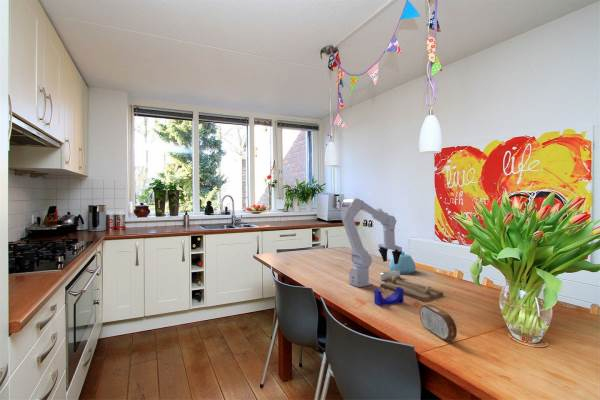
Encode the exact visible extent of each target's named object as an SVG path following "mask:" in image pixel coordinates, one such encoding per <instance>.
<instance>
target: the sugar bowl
mask: <svg viewBox="0 0 600 400" xmlns="http://www.w3.org/2000/svg"><path fill="white" fill-rule="evenodd" d="M415 263H416V262H415V260H414V259H413V258H412V256H411V255H410V254H408V253H405V251H402V253H401V255H400V257H399V261H398V264H394V258H393V256H392V257H391V258H390V260H389V263H388V269H389V271H392V270H400V275H404V274H405V275H408V274H409V275H410V274H413V273H414V272H415V271H416V270H417V269H416V264H415Z"/></svg>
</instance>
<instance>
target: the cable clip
mask: <svg viewBox="0 0 600 400" xmlns="http://www.w3.org/2000/svg"><path fill="white" fill-rule="evenodd" d="M373 295H374V296H373V297H374V298H373V299H374V301H373V302H374V304H375V305H376V306H378V307H379V306H386V305H387V306H388V304H389V305H396V303H397V304H404V303H405V302H404V298H405V297H404V296H405V295H404V289H403V288H401V287H396V291H395V292H392V293H391V294H390V295H388V296H385V298H384V296H383V294H382V290H380V289H378V288H375V289H374V292H373Z"/></svg>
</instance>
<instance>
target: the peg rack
mask: <svg viewBox="0 0 600 400" xmlns="http://www.w3.org/2000/svg"><path fill="white" fill-rule="evenodd" d="M379 286H380V288H382V289H385V290H388V291H390V292H392V293H395V291H396V287H401V288H403V289H404V296H405V297H409V298H410V299H411V298H412V299H415V300H417V301H420V302H422V303H423V302H426V301H430V300H433V299H436V298H440V297H443V296H444V292H443V291H439V290H436V289H433V288H431V286H429V285H427V286H422V285H419V284H416V283H412V282H409V281H406V280H401V279H396V277H395V276H393V277H392V280H391V281H386V282H382V283H380V285H379Z"/></svg>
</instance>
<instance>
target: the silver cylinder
mask: <svg viewBox="0 0 600 400" xmlns="http://www.w3.org/2000/svg"><path fill="white" fill-rule="evenodd" d="M379 275H380V277H379V279H380V280H381V281H380V282H383V281H386V282H390V281H392V277H393V276H395V277H396V280H401V274H400V270H392V271H391V270H388V271H383V272H380V274H379ZM389 280H390V281H389Z"/></svg>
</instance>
